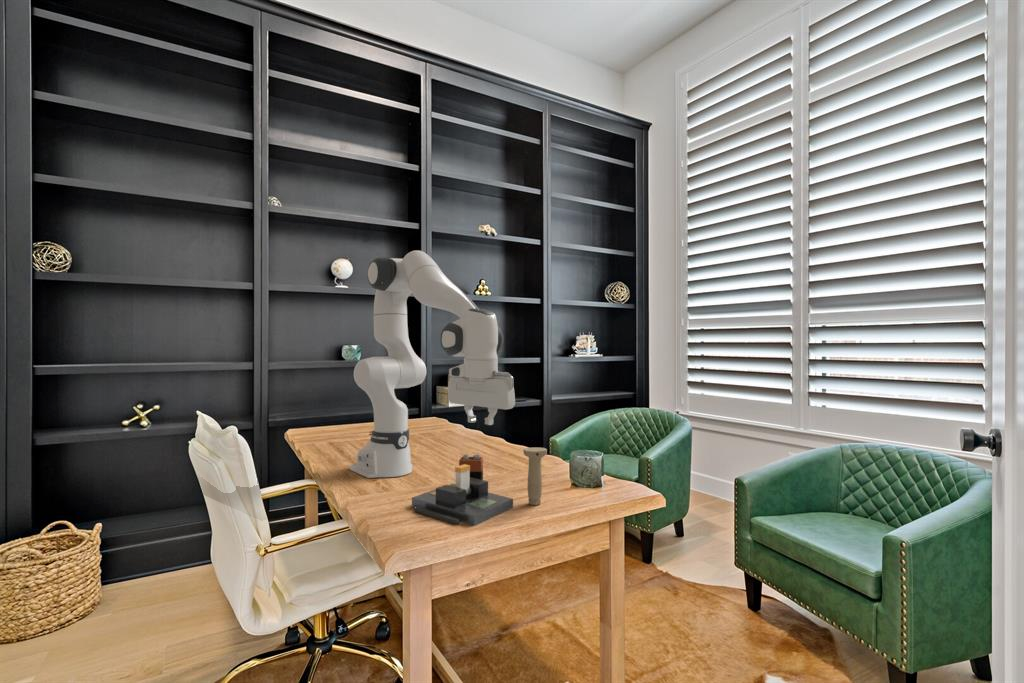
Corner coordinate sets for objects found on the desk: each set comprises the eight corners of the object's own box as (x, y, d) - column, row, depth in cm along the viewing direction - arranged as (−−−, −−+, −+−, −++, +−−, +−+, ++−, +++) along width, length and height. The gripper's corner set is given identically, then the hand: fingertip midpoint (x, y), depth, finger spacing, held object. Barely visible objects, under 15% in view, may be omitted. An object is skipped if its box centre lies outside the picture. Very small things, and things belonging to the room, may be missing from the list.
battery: (481, 490, 146) (481, 457, 146) (458, 490, 147) (458, 456, 147) (483, 486, 151) (483, 453, 150) (461, 485, 151) (461, 453, 151)
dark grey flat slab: (413, 512, 128) (413, 507, 128) (465, 492, 145) (465, 488, 145) (456, 525, 119) (456, 520, 119) (507, 502, 136) (507, 498, 136)
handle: (548, 506, 133) (548, 450, 133) (525, 507, 132) (525, 451, 132) (543, 500, 138) (543, 447, 138) (521, 501, 137) (521, 447, 137)
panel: (411, 506, 132) (411, 484, 132) (452, 491, 145) (452, 471, 145) (474, 525, 119) (474, 500, 119) (513, 507, 132) (513, 485, 132)
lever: (453, 497, 131) (453, 467, 131) (464, 493, 134) (464, 463, 134) (460, 499, 129) (460, 468, 129) (471, 495, 133) (471, 465, 133)
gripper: (520, 371, 125) (519, 426, 125) (460, 368, 137) (459, 417, 137) (505, 373, 120) (505, 429, 120) (444, 369, 132) (443, 420, 132)
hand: (480, 423), depth 128 cm, fingers open, 4 cm apart
